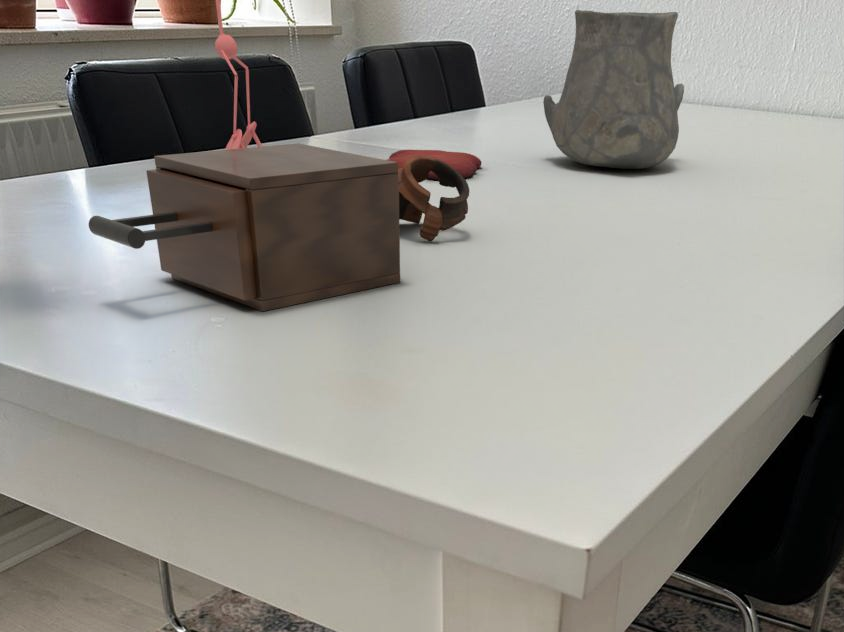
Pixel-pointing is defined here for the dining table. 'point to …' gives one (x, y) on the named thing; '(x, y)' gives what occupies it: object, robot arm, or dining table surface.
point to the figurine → (235, 87)
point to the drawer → (193, 231)
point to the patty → (457, 160)
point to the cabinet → (308, 218)
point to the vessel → (618, 92)
